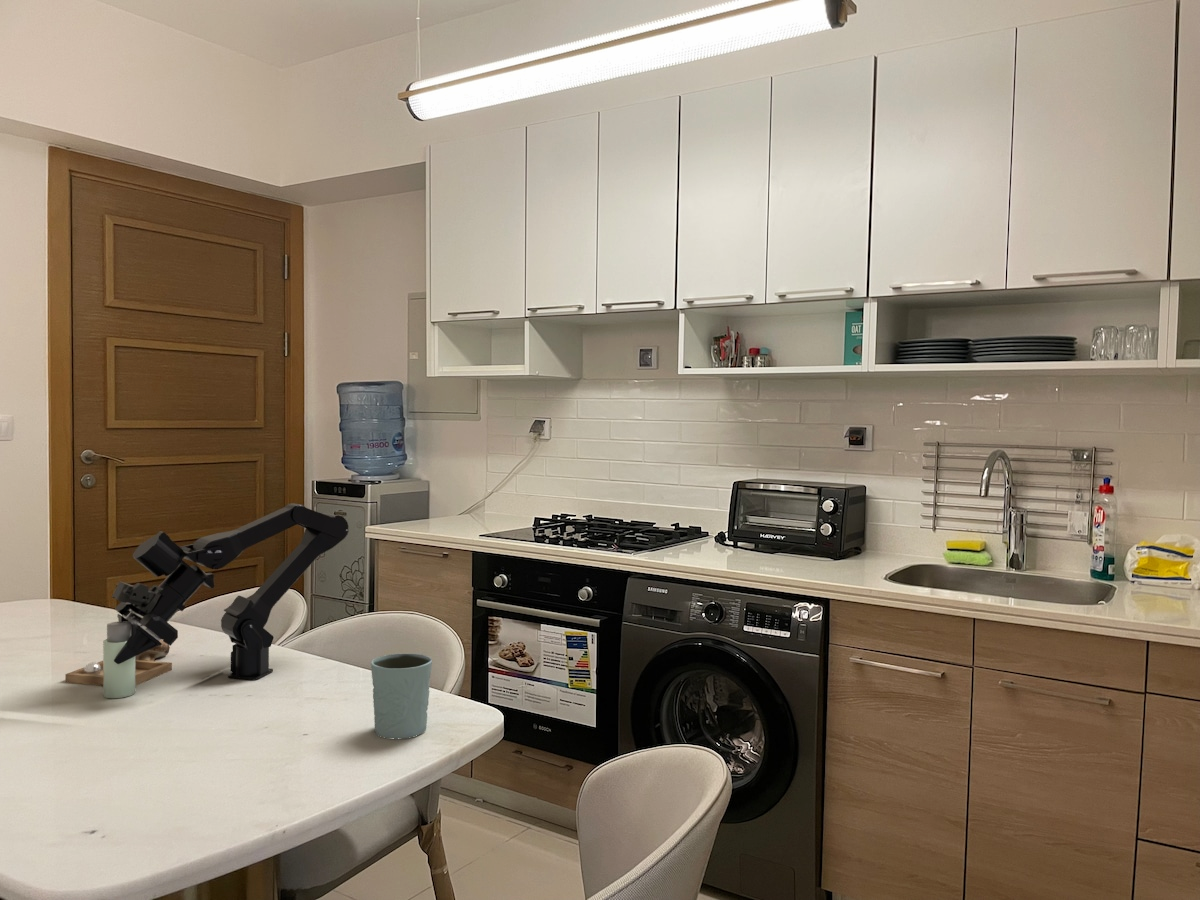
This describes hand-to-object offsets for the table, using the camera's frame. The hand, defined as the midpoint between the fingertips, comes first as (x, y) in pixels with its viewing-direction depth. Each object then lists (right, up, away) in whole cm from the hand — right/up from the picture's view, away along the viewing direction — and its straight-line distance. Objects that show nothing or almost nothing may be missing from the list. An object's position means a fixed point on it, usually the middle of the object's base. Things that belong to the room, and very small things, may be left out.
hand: (111, 659), depth 164 cm
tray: (-5, -7, +13) cm, 15 cm away
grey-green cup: (+55, -10, -11) cm, 57 cm away
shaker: (+1, -7, +1) cm, 7 cm away
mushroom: (-6, -7, +25) cm, 27 cm away
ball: (-9, -6, +11) cm, 16 cm away
